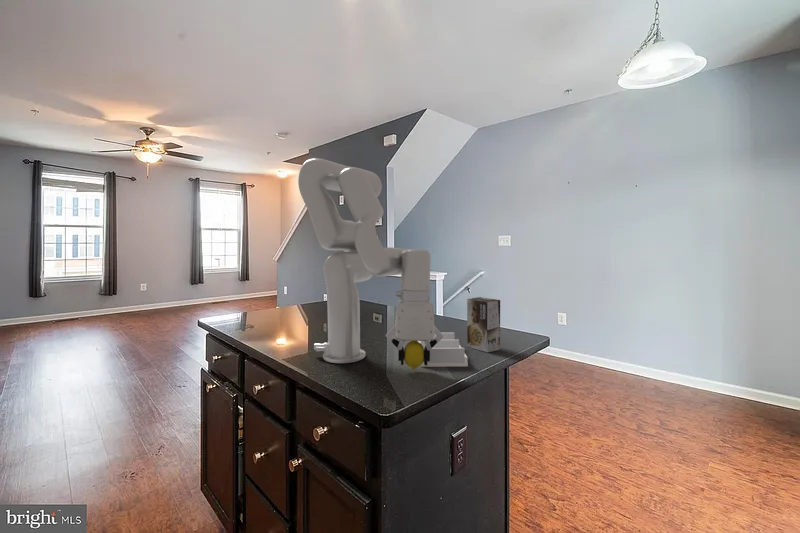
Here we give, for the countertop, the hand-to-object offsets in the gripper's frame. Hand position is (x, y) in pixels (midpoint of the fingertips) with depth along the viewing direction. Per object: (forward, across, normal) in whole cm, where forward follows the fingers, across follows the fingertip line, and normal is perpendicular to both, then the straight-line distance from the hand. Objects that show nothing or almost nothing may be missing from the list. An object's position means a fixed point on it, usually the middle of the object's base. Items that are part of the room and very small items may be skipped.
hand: (413, 362), depth 95 cm
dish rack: (+2, +9, +13) cm, 16 cm away
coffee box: (+2, +24, +22) cm, 32 cm away
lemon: (+2, 0, 0) cm, 2 cm away
